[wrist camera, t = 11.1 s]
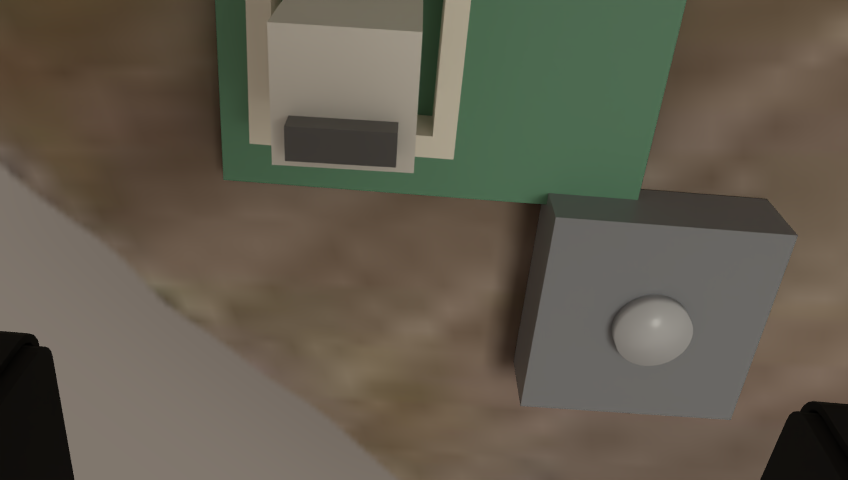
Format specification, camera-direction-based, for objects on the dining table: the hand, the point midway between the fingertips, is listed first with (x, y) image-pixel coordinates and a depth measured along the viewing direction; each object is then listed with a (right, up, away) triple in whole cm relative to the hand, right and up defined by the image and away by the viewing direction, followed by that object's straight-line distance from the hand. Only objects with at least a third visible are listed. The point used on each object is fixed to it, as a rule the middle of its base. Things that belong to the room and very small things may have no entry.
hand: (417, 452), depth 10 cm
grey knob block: (+9, +1, +23) cm, 25 cm away
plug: (-2, +10, +17) cm, 20 cm away
